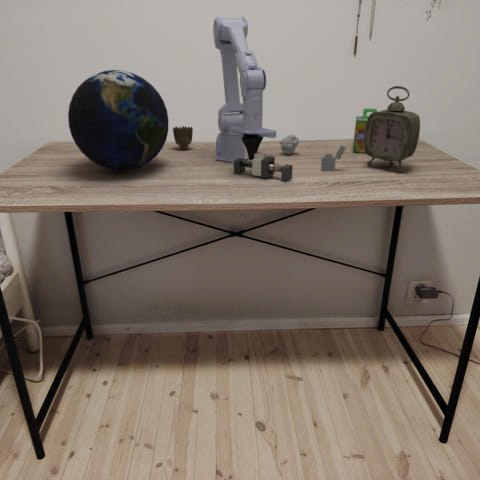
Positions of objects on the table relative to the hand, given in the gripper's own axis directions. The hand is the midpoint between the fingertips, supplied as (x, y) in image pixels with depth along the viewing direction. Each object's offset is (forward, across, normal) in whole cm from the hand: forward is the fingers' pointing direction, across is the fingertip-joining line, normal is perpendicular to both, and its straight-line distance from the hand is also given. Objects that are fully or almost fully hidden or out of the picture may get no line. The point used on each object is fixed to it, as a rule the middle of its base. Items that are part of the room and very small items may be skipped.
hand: (252, 159), depth 133 cm
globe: (+5, -40, -13) cm, 42 cm away
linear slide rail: (+5, +3, 0) cm, 6 cm away
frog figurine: (+5, 0, +28) cm, 28 cm away
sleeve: (+5, +3, 0) cm, 6 cm away
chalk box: (+5, +23, +46) cm, 52 cm away
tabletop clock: (+5, +35, +27) cm, 45 cm away
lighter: (+5, +20, +16) cm, 26 cm away
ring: (+5, +5, 0) cm, 7 cm away
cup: (+5, -38, +17) cm, 42 cm away
